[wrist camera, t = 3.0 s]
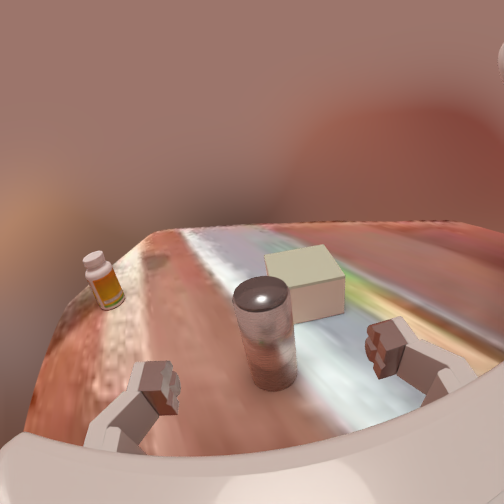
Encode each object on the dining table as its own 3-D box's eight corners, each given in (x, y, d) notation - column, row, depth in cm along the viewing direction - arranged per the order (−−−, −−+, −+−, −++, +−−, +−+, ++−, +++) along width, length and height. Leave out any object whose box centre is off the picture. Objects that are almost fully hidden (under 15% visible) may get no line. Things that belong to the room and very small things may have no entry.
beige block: (324, 278, 44) (323, 244, 41) (343, 313, 36) (345, 275, 33) (269, 288, 44) (263, 255, 41) (278, 327, 36) (272, 290, 33)
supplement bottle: (130, 294, 48) (111, 248, 44) (114, 312, 44) (92, 263, 39) (111, 292, 50) (92, 248, 45) (95, 309, 45) (73, 263, 41)
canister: (292, 353, 31) (284, 270, 26) (301, 386, 27) (295, 303, 22) (250, 360, 31) (230, 280, 26) (254, 394, 27) (231, 314, 22)
